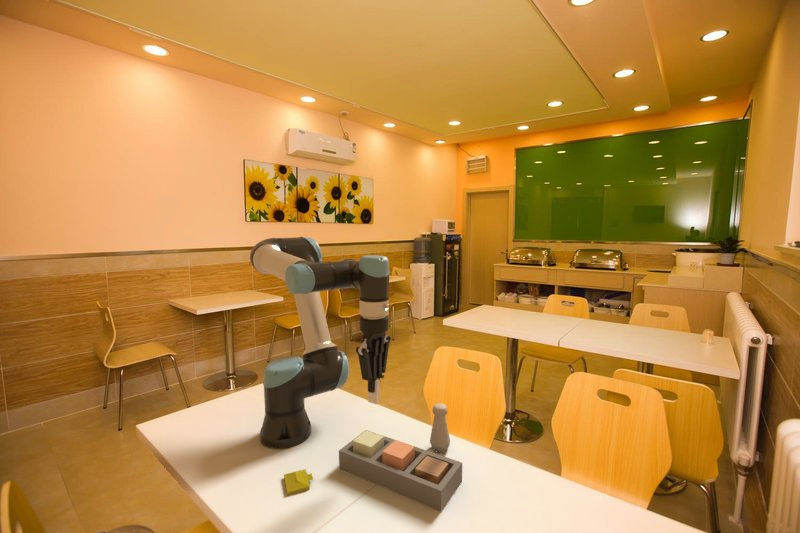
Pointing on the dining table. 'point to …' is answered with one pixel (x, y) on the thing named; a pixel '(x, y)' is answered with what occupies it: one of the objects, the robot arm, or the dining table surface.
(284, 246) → the robot arm
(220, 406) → the dining table surface
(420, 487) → the key panel
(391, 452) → the terracotta key
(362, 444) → the cream square block
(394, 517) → the dining table surface
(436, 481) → the walnut key
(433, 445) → the salt shaker
